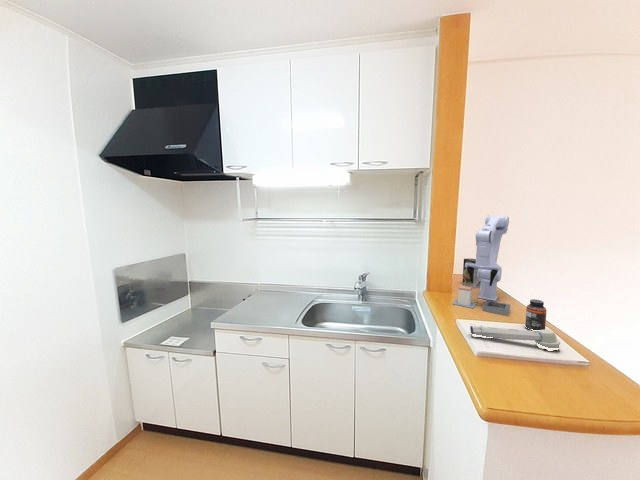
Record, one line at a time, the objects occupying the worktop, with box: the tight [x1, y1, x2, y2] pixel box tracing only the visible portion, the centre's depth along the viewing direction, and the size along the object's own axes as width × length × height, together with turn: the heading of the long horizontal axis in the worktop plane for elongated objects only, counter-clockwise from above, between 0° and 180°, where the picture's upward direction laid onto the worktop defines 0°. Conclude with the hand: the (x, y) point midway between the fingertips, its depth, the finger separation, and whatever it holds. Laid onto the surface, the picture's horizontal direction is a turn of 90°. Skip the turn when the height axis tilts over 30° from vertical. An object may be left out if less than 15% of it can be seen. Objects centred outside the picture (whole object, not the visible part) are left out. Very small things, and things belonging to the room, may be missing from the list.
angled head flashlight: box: [470, 324, 561, 349], centre depth 91 cm, size 5×7×25 cm
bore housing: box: [482, 299, 511, 317], centre depth 121 cm, size 10×10×2 cm
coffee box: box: [461, 258, 481, 289], centre depth 160 cm, size 9×6×16 cm
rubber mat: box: [451, 298, 478, 309], centre depth 130 cm, size 9×9×1 cm
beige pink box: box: [457, 284, 473, 306], centre depth 129 cm, size 5×5×8 cm
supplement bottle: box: [524, 298, 547, 330], centre depth 101 cm, size 6×6×11 cm
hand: (481, 284), depth 127 cm, fingers open, 7 cm apart
